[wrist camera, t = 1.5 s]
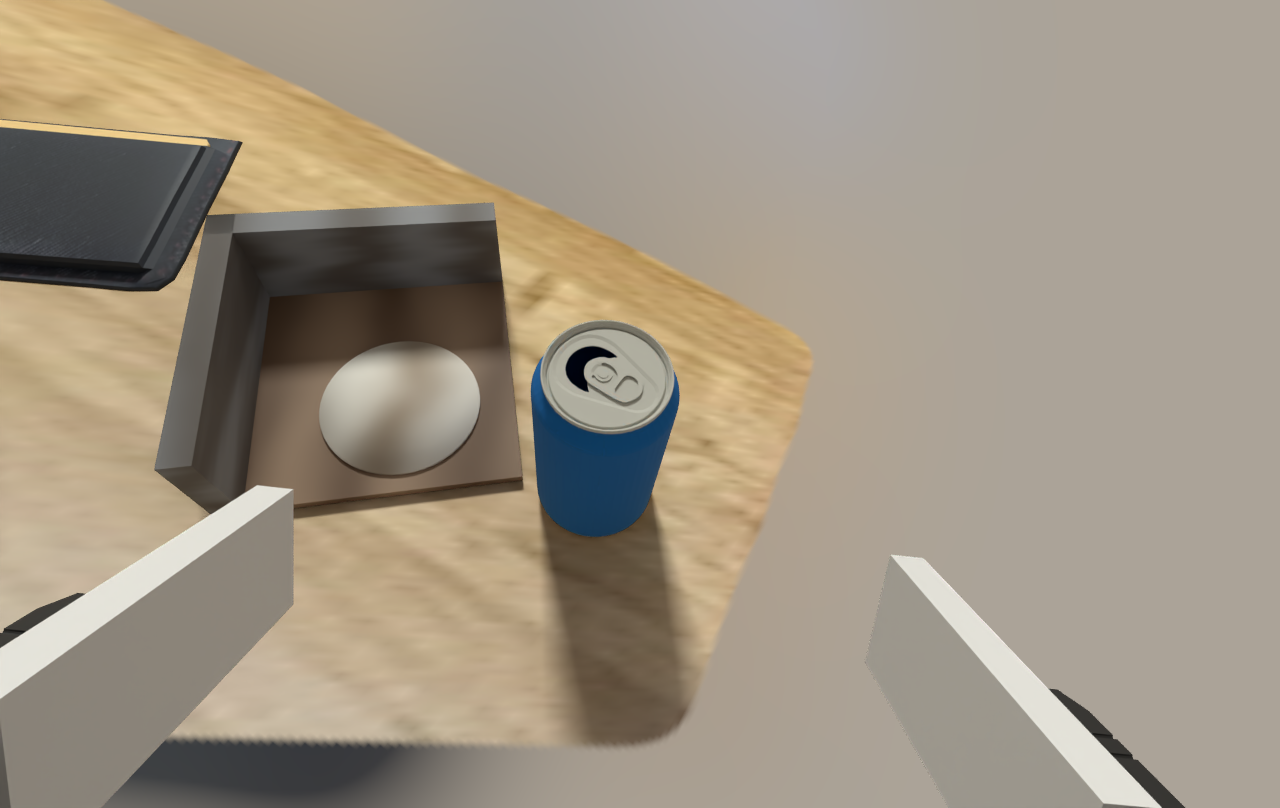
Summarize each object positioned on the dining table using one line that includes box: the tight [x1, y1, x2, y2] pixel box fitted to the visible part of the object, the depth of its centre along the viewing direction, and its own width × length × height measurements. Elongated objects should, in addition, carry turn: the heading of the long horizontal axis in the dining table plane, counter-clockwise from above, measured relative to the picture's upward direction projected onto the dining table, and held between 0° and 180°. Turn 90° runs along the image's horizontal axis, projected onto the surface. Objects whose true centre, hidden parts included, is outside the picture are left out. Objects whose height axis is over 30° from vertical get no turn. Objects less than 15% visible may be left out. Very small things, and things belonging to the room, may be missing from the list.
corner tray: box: [154, 203, 523, 514], centre depth 37 cm, size 16×16×6 cm
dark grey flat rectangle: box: [0, 119, 242, 291], centre depth 43 cm, size 20×2×15 cm
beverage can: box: [531, 320, 680, 537], centre depth 32 cm, size 6×6×12 cm
